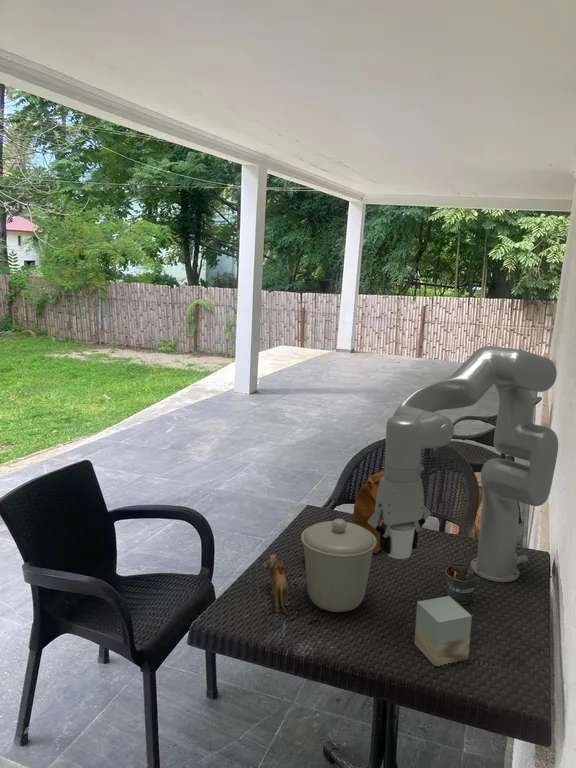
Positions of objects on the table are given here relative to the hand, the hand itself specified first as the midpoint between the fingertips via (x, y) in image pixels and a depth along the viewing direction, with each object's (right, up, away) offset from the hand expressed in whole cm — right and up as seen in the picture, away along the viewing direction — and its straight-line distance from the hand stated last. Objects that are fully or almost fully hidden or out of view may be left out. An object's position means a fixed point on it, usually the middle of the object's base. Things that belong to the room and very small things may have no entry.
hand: (398, 548), depth 129 cm
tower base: (+8, -20, -6) cm, 23 cm away
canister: (-13, -16, +12) cm, 24 cm away
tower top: (+8, -15, -7) cm, 19 cm away
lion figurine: (-27, -16, +12) cm, 34 cm away
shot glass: (0, -1, 0) cm, 1 cm away
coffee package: (0, -11, +42) cm, 44 cm away
